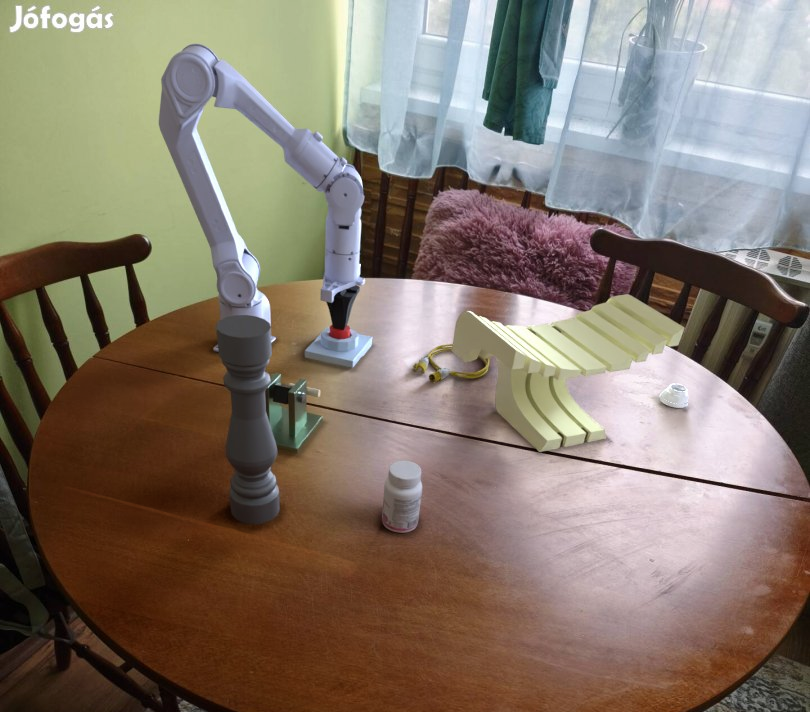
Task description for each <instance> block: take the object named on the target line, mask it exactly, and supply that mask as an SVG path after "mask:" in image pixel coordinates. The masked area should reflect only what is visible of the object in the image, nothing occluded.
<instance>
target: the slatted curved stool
mask: <svg viewBox="0 0 810 712" xmlns="http://www.w3.org/2000/svg"><path fill="white" fill-rule="evenodd" d="M685 329H686V327H684V326H683V325H681V324H679V323H678V322H676V321H674V320H673V319H671V318H670V317H668V316H666V315H664V314H663V313H661V312H660V311H658V310H656V309H654V308H653V307H651V306H649V305H647V304H646V303H644V302H642V301H641V300H639V299H638V298H636V297H634V296H633V295H630V294H619V295H615V296H611V297H610V298H608V299H607V301H606V302H602V303H599V304H595V305H593V306H592V307H591V309H590V310H586V311H582V312H579V313H577V314H576V315H575V317H570V318H567V319H562V320H558V321H553V322H551V324H549V323H542V324H541V323H540V324H533V325H527V327H525V326H524V325H509V324H508V325H507V324H506V325H503V323H502V322H499V321H491V320H489V319H488V318H486V317H484V316H481V315H479V316H478V315H477V314H476V313H474V312H473V311H471V310H466V311H462V312H461V313H459V315H458V317H457V319H456V322H455V325H454V333H453V338H452V344H453V345H452V346H451V347H452V351H451V352H452V353H454V354H455V355H456V356H457V357H458V358H459V359H460V360H461V361H462V362H463V363H464V364H467V363H470V362H473V361H475V360H477V359H478V358H479V357H478V355H479V356H481V357H482V358H483V359H484V360H486V359H485V358H489V359H493V358H495V359H496V364H497V365H496V366H497V378H496V386H495V393H494V406H495V410H496V412H497V413H498V414H499V415H500V416H501V417H502V418H503V419H504V420H505V421H506V422H507V423H508V424H509V425H510V426H511V427H513V428H514V429H515V430H516V431H517V432H518V433H519V434H520V435H521V436H522V437H523V439H525V440H526V441H527V442H528V443H529V444H530V445H531V446H532V447H533V448H534V449H536V450H537V451H538V453H543V452H547V451H553V450H557V449H560V447H561V446H562V447H563V448H567V447H571V446H576V445H581V444H584V443H585V441H586V442H587V443H591V442H597V441H602V440H606V439H607V436H606V435H607V434H606V429H605V428H604V427H603V426H602V425H600V424H599V422H597V421H596V420H595V419H593V418H592V417H591V416H590V415H589V414H588V413H587V412H586V411H585V410H584V409H583V408H582V407H581V406H580V405H579V404H578V403H577V402H576V401H575V400H574V398H573V397H572V395H571V393H570V391H569V389H568V387H567V380H570V379H576V378H580V376H581V375H582V376H583V377H589V376H594V375H595V376H596V375H601V374H606V371H607V372H609V373H614V372H622V371H628V370H630V369H631V366H632V363H633V362H634V363H642V362H647V360H648V356H649V354H651V355H652V356H653V355H661V354H663V352H664V350H665V348H666V346H667V347H669V348H670V347H678V346H679V345H680V342H681V339H682V337H683V334H684V332H685Z"/></svg>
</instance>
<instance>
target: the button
mask: <svg viewBox="0 0 810 712" xmlns="http://www.w3.org/2000/svg"><path fill="white" fill-rule="evenodd" d="M329 327H330V337H332V338H335V339H347V338H350V328H351V327H350V326H349V325H348V324H347V327H346V328H345V329H344V330H340V329H335V328H333V325H332V324H331V325H330V326H329Z"/></svg>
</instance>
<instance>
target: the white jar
mask: <svg viewBox="0 0 810 712" xmlns="http://www.w3.org/2000/svg"><path fill="white" fill-rule="evenodd" d="M661 396H662V397H663V398H664V399H665V400H664V399H663V398H662V397H661ZM658 399H659V400H660V402H662V404H664V405H666V406H668V407H670V408H674V409H677V408H678V409H682V408H683V409H684V408H686V407H688V406H689V402H690V400H689V401H688V399H689V393H688V388H687V387H686V386H685V385H682V384H680V383H671V384H670V385H669V386H667V387H666V388H665V389H664V390H663V391H662V392H660V394H659V396H658ZM666 400H667V401H666ZM668 401H669V402H668ZM670 402H672V403H670ZM687 402H688V403H687ZM673 403H675V404H673ZM676 403H677V404H676ZM684 403H687V404H684ZM678 404H683V405H678Z"/></svg>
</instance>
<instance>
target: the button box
mask: <svg viewBox="0 0 810 712" xmlns="http://www.w3.org/2000/svg"><path fill="white" fill-rule="evenodd" d="M372 346H373V336H371V335H367V334H366V335H365V334H361V333H358V331H356V330H354V329H353V328H351V327H350V338H347V339H335V338H332V337H330V326H329V327H328V326H327V327H325V328H324V329H323V330H322V331H321V332H320V334H319V335H318V336H316V338H315V339H314V340H313V341H312V342H311V344H309V346H308V347H307V348H306V349H305V350H304V358H306V359H310V360H315V361H318V362H324V363H328V364H333V365H337V366H342V367H347V368H351V369H353V368H354V367H355V366H356V364H357V363H358V362H359V360H361V358H362V357H364V356H365V355H366V354H367V352H368V351H369V350H370V349H371V347H372Z"/></svg>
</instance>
